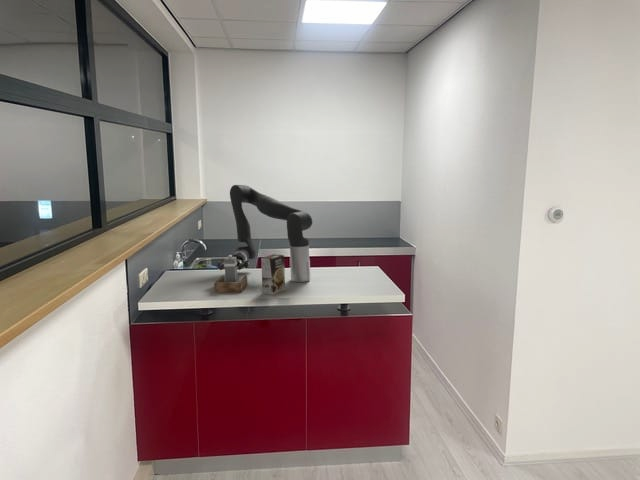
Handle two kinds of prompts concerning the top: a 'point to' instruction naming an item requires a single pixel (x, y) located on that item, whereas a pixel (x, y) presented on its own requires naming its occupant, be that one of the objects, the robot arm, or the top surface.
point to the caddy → (230, 285)
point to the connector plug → (231, 269)
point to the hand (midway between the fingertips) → (229, 267)
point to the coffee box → (273, 274)
